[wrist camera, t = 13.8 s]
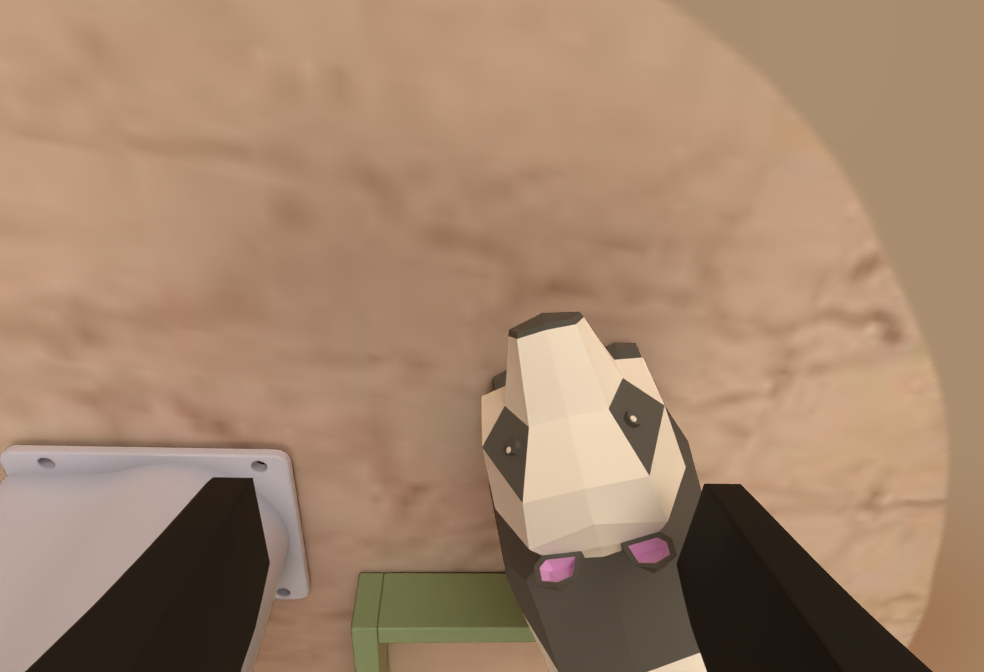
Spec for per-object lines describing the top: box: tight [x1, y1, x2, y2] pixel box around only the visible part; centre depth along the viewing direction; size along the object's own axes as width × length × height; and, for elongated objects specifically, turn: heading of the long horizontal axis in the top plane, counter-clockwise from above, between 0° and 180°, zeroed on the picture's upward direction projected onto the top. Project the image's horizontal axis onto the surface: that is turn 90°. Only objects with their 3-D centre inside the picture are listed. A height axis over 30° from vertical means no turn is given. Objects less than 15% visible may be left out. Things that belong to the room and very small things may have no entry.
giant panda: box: [482, 312, 707, 672], centre depth 17 cm, size 15×6×10 cm, turn 16°
